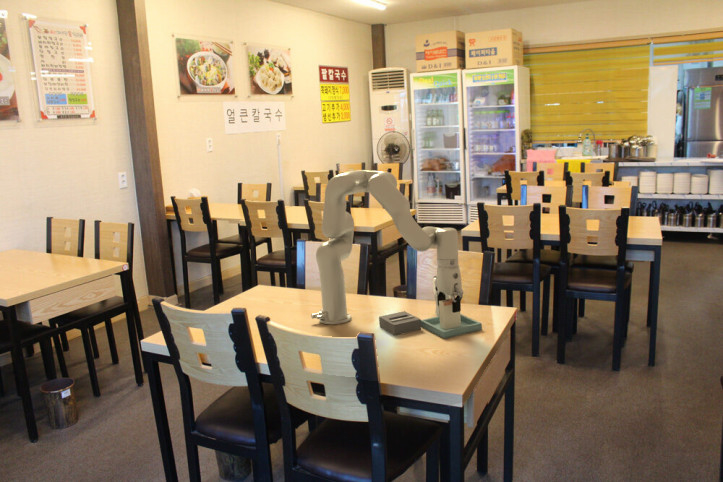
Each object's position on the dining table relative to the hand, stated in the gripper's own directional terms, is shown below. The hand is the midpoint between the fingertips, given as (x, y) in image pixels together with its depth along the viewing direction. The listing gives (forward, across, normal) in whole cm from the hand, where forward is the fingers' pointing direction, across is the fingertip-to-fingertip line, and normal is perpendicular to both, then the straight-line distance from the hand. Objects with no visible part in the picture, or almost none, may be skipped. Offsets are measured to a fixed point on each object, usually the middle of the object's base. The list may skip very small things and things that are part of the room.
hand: (448, 308), depth 220 cm
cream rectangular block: (+7, 0, 0) cm, 7 cm away
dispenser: (+8, +11, +15) cm, 20 cm away
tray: (+7, 0, 0) cm, 8 cm away
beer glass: (+8, +16, -7) cm, 19 cm away
